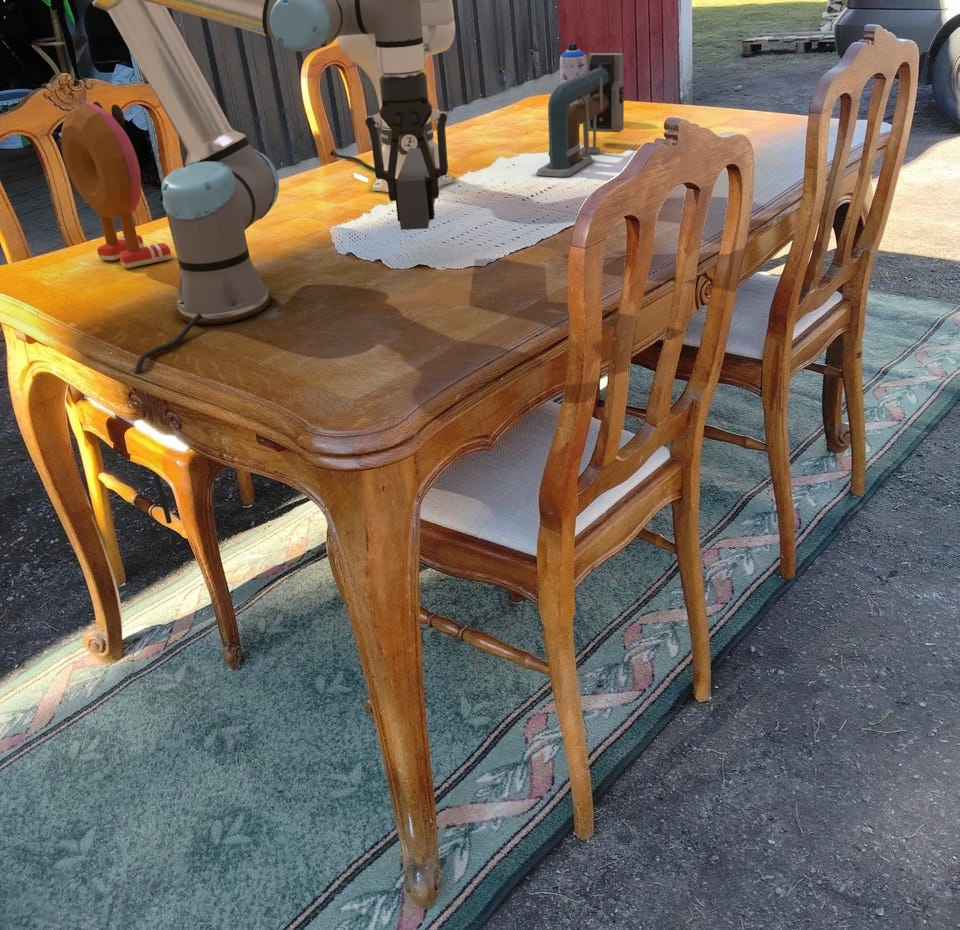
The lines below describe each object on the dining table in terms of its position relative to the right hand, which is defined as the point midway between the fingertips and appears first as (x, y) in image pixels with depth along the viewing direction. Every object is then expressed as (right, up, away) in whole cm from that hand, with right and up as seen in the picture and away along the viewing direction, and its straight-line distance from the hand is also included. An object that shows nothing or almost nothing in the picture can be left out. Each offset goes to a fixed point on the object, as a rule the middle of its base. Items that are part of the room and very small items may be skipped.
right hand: (404, 53), depth 186 cm
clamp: (+39, -4, +53) cm, 66 cm away
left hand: (+4, -37, -20) cm, 42 cm away
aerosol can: (+42, +20, +92) cm, 103 cm away
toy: (-55, -38, +9) cm, 67 cm away
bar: (+4, -34, -14) cm, 37 cm away
